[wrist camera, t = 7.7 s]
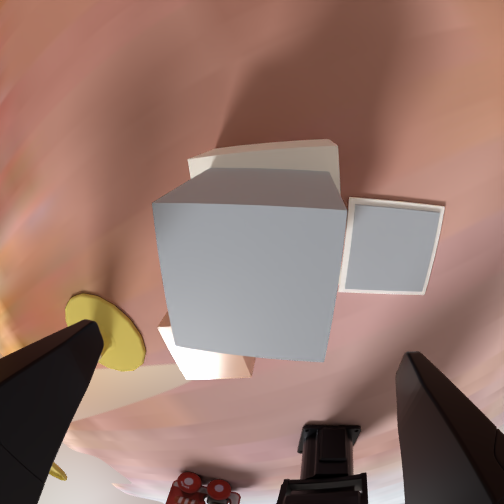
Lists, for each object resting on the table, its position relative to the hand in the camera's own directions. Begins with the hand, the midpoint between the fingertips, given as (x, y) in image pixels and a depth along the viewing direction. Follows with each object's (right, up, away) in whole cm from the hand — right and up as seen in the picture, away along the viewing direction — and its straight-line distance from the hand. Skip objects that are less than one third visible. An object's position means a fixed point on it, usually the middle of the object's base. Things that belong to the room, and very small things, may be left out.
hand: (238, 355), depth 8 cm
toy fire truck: (-7, -38, +34) cm, 51 cm away
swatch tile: (+10, +3, +11) cm, 15 cm away
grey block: (+1, +4, +7) cm, 8 cm away
